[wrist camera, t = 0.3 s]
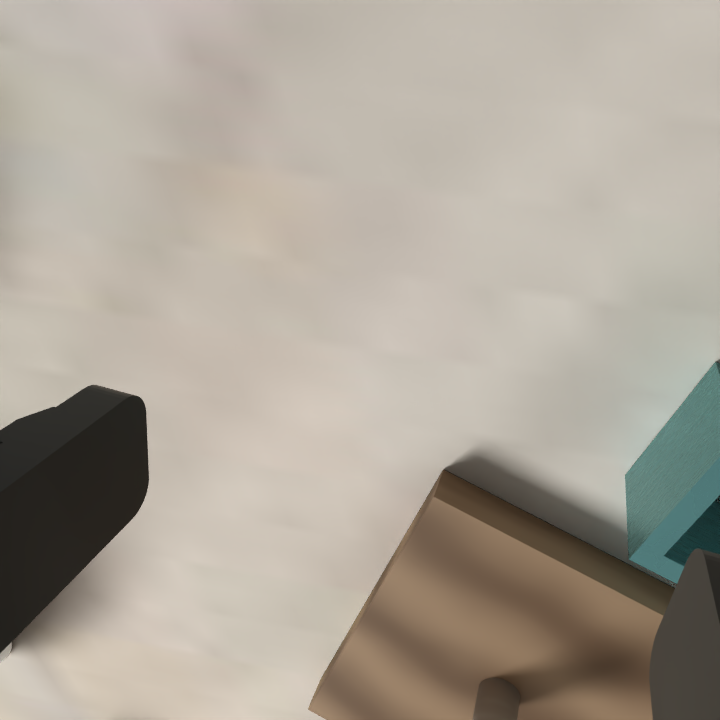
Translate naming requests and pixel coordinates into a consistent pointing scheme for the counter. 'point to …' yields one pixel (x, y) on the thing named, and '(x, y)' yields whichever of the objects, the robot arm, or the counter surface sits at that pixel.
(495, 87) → the counter surface
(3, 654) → the jar
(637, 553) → the collar
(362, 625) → the post board
